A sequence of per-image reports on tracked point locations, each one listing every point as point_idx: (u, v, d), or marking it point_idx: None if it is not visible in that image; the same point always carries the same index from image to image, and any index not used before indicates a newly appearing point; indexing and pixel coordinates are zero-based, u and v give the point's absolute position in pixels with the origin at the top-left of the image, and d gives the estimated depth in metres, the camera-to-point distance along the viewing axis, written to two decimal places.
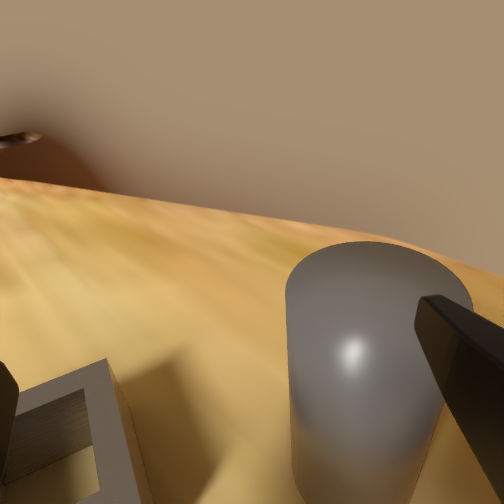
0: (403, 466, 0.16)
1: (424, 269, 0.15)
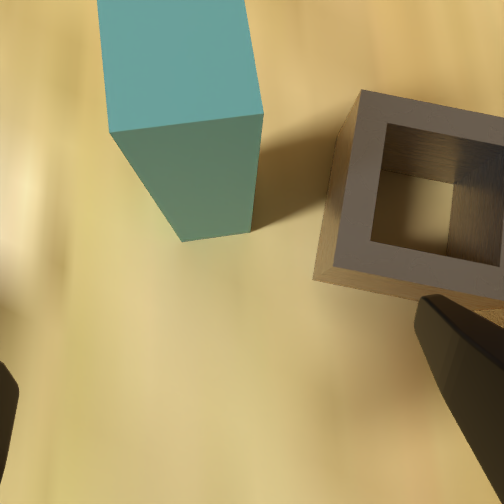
0: None
1: None
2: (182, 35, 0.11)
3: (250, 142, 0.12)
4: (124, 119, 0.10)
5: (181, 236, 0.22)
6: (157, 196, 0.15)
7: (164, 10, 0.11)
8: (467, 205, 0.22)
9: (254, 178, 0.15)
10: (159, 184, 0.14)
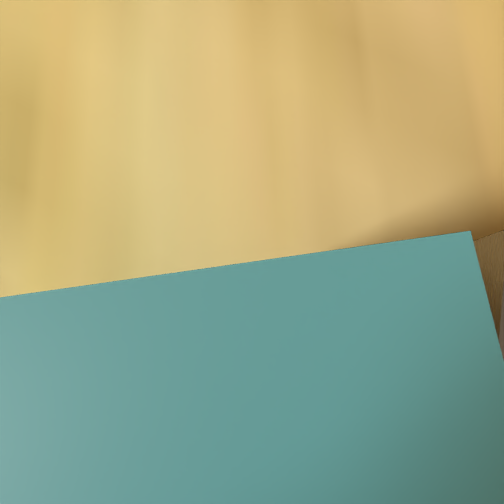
0: None
1: None
2: None
3: None
4: None
5: None
6: None
7: (124, 384, 0.02)
8: None
9: None
10: None
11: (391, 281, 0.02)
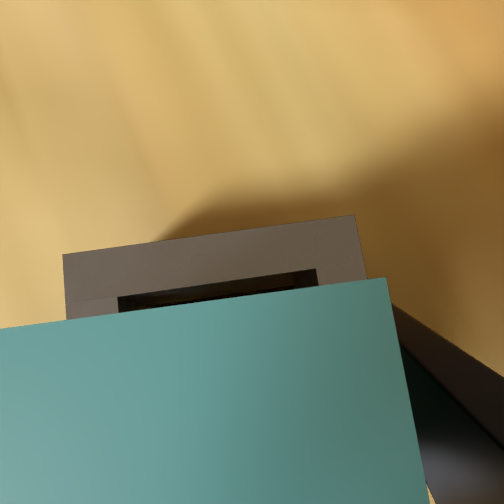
0: None
1: None
2: (219, 461, 0.04)
3: None
4: None
5: None
6: None
7: (164, 372, 0.04)
8: None
9: None
10: None
11: (333, 308, 0.04)
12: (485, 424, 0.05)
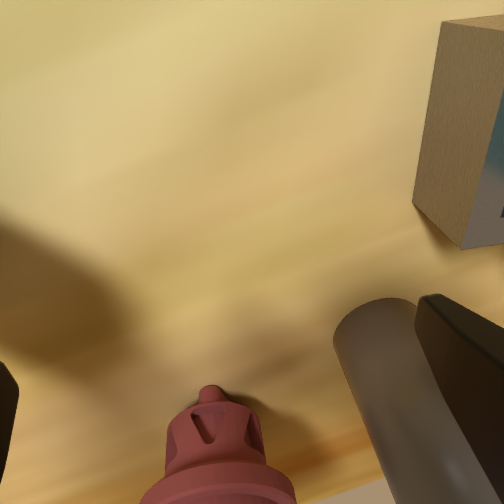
0: (365, 413, 0.23)
1: None
2: None
3: None
4: None
5: None
6: None
7: None
8: None
9: None
10: None
11: None
12: None
